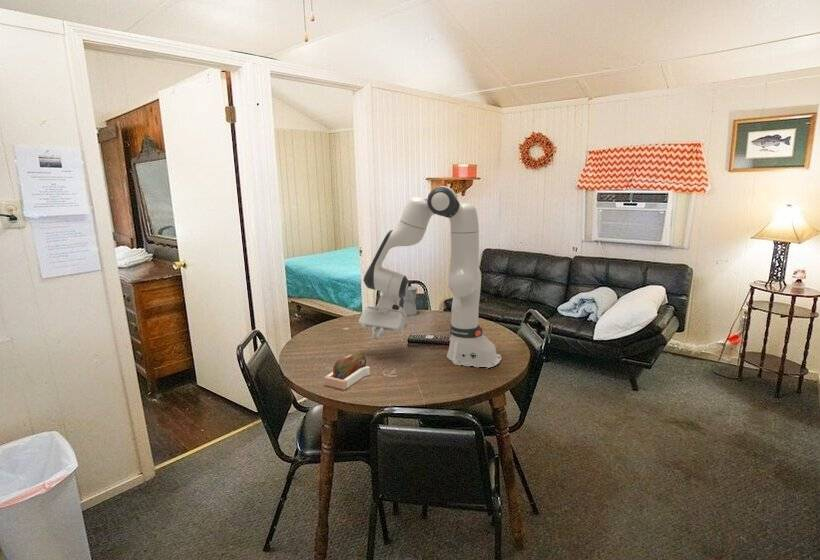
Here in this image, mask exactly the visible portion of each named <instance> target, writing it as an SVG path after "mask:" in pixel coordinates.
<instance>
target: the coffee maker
mask: <svg viewBox="0 0 820 560" xmlns="http://www.w3.org/2000/svg"><path fill="white" fill-rule="evenodd" d="M417 294H418V288H417V287H416V286H412V281H409V286H408V289H407V291H406V294H405V296H404V297H403V298H401V300H403V305H402V308H403V309H404V311H405V312H406V314H407V315H406V317H407V316H408V317H410V316H415V315H417V314H418V313H417V307H416V299H417Z"/></svg>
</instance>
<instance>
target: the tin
mask: <svg viewBox="0 0 820 560" xmlns="http://www.w3.org/2000/svg"><path fill="white" fill-rule="evenodd" d="M363 367H367V359H366V356H365V355H364V353H361V352H360V353H359V352H353V353H351V354H348V355H345V356H344V357H342V358H339V359H337V360H336V361H335V363H334V365H333V367H332V372H333V375H334V377H335V378H338V379H342V380H344V379H345V378H347V377H348V376H350V375H351V374H353V373H354V372H356V371H357V370H358V369H360V368H363Z"/></svg>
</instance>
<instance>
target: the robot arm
mask: <svg viewBox="0 0 820 560" xmlns="http://www.w3.org/2000/svg"><path fill="white" fill-rule="evenodd" d="M477 212H478V211H477V208H476V207H475V205H473V204H472V203H469V202H460V200H458V195H457V193H456V192H455V191H454V189H452V188H451V187H449V186H446V185H440V186H436V187H435V188H433V189H432V190H431V191H430V192H429V194H428V195H427V197H422V196H413V197H411V198H410V199H409V200H408V201H407V203H406V205H405V206H404V210H403V211H402V214H401V217H400V219H399V220H400V221H399V222H398V224H397V226H396V227H395V228H394V229H392V230H389V231H388V232H387V233H386V235H385V236H384V238H383V239H382V241H381V244H380V246H379V248H378V250H377V251H376V253H375V256H374V258H373V259H372V261H371V264H370V265H369V266H368V268H367V269H366V271H365V273H364V276H363V283H364V285H365V286H366V288H367V289H370V290H375V291H379V292H381V293H382V294H381V295H380V297H379V299H378V302H377V304H376V306H367V307H365V308H364V309H363V312H362V314H361V315H360V317H359V319H358V324H359V325H360V326H361V327H363V328H370V329H372V330H371V331H372V335H371V337H372V338H373V339H378V340H380V339H381V336H382V335H383V334H384V333H385V332H386V331H390V332H396V333H401V332H403V331H404V328H405V325H406V317H407V316H406V315H407V314H406V312H405V311H404V309H403V306H401V305H400V301H401V300H402V299H401V298H403V297H404V296H405V294H406V291H407V289H408V286H409V282H410V281H409V279H408V277H407V276H406V275H404V274H403V273H400V272H397V271H394V270H391V269H387V268H385V267H383V266H382V264H383V262H384V261H385V260H386V257H387V254H388V253H389V251H390V250H391V249H393V248H395V247H409V246H410V247H411V246H414V245H417V244H419V243H420V242H421V241H422V240H423V238H424V236H425V233H426V232H427V228H428V224H429V222H430V220H431V218H432V216H435V215H437V216H440V217H444V218H448V220H449V224H450V259H449V261H450V262H449V275H448V276H449V279H448V288H449V291H450V292H451V293H452V295H453V297H452V304H451V311H450V312H451V316H450V317H451V323H450V326H449V337H450V339H449V340H450V341H449V346H448V351H447V354H446V358H447V359H448V360H450V361H451V362H452V364H453V365H455V366H461V365H463V366H464V367H470V366H474V367H473V368H479V367H488V368H489V367H493V366H495V365H497V364H498V363H499V362H500V360H501V361H502V356H501V355H500V354H499V353H497V349H496V345H495V344H494V343H493V342H492V341H491V340H490V339H488V338H487V337H486V336H485V335H484V334H483V332H484V331H483V330H484V326H482V327H481V326H480V324H479V305H480V298H481V287H482V272H481V269H480V267H479V266H478V264H479V254H480V253H479V252H480V231H479V227H480V226H479V217H478V213H477ZM378 330H379V331H378ZM498 357H500V358H498ZM500 363H501V362H500ZM463 366H462V367H463ZM488 368H487V369H488Z"/></svg>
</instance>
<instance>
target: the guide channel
mask: <svg viewBox="0 0 820 560" xmlns="http://www.w3.org/2000/svg"><path fill="white" fill-rule="evenodd" d="M370 375H371V367H370V366H368V365H366V366H365V367H363V368H360V369H358V370H357V371H356V372H354V373H353V374H351V375H350V376H348V377H347V378H345V379H344V380H342V379H338V378H335V377H334V375H333V371H332V372H330V373H329V374H327V375H326V376H324V377H323V385H324V386H328V387H331V388H335V389H339V390H344V391H346V390H347V389H348V388H350V387H351V386H353V385H354V384H356V382H358V381H359V380H362V378H364V377H367V376H370Z"/></svg>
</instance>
